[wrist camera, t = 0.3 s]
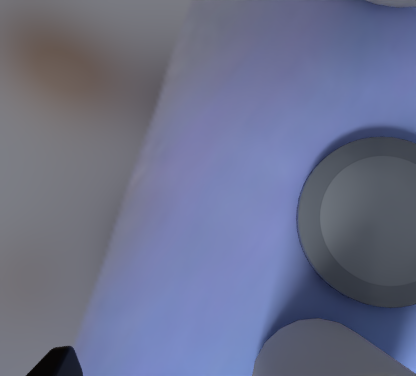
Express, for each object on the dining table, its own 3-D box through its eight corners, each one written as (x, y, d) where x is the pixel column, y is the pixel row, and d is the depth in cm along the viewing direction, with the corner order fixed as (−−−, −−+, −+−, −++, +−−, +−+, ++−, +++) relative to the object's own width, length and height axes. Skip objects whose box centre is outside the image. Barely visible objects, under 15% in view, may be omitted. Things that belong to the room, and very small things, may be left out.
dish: (498, 237, 23) (511, 237, 22) (367, 339, 23) (375, 344, 22) (388, 110, 25) (395, 104, 24) (263, 204, 24) (265, 202, 23)
